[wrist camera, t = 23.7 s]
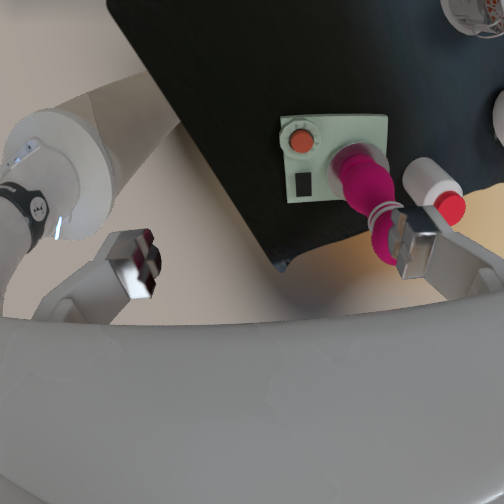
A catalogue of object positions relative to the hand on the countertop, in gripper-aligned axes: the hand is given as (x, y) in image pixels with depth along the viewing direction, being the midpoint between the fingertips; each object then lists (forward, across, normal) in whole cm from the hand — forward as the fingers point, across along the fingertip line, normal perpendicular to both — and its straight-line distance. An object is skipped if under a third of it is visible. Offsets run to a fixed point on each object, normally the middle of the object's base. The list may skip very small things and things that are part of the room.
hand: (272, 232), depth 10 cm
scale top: (+32, -11, +13) cm, 36 cm away
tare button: (+32, -4, +8) cm, 34 cm away
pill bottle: (+35, -26, +16) cm, 47 cm away
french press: (+35, -33, -15) cm, 51 cm away
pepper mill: (+32, -13, +14) cm, 37 cm away
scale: (+35, -10, +12) cm, 38 cm away
